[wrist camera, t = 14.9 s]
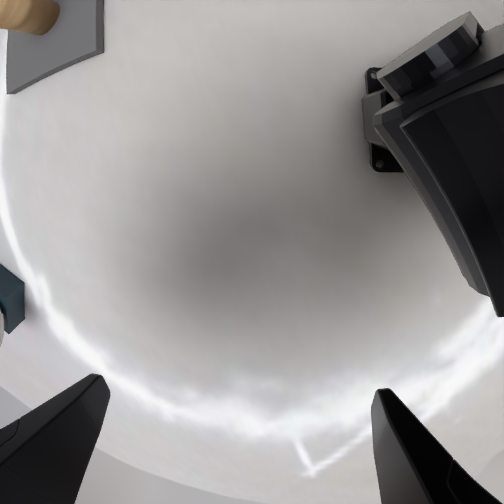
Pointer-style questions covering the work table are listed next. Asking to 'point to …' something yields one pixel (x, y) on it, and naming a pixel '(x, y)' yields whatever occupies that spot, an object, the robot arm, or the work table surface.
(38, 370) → the work table surface
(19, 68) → the mat
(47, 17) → the dowel
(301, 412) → the work table surface
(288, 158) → the work table surface
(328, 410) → the work table surface
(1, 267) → the watch
